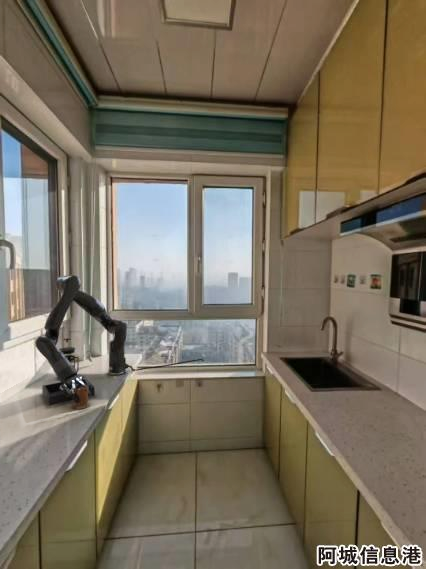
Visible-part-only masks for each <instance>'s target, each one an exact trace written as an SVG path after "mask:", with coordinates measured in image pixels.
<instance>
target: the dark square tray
mask: <svg viewBox="0 0 426 569" xmlns="http://www.w3.org/2000/svg"><path fill="white" fill-rule="evenodd" d="M87 381H88V382H89V384H90V386H89V391H90V393H91V396H90V397H92V396H95V386H94V385H93V384H92V383H91V382H90V381H89V380H88V379H87ZM62 384H63V383H61V381H58V382H54V383H47V384H43V385H42V388H41V389H42V392H41V393H42V395H43V396H42V397H43V398H44V400H45V401H46V403H47V405H48V406H53V405H58V404H61V403H66V402H71V401H74V400H73V399H72V397H68V398H67V397H66V396H65V395H64V394H63V393H62V392H61V391H60V389H59V387H60V386H61V385H62ZM80 385H81V384H80ZM66 393H67V392H66ZM67 394H68V393H67Z"/></svg>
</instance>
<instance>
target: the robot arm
mask: <svg viewBox="0 0 426 569" xmlns="http://www.w3.org/2000/svg"><path fill="white" fill-rule="evenodd" d="M56 278H57V279H56V280H55V288H56V289H57V291H58V292H60V293H61V297H60V298H59V300H58V301H57V303H56V304H55V305H54V307H52V309H51V311H50V312H49V314H48V315H47V319H46V321H45V323H44V325H43V326H44V330H45V334H42V335H39V336H37V338H36V340H35V341H34V344H35V348H36V349H37V350H38V352H39V353H40V354H41V355H42V356H43V358H45V360H47V362H48V364H49V366H50V367H51V368H52V370H53V373H54V374H55V375H56V378H57V379H58V378H59V379H58V380H59V382H61V383H63V384H62V385H61V386H60V387H59V389H60V391H61V392H62V393H63V394H64V395H65V396H66V397H67V398H68V397H72V399H73V400H72V401H73V403H74V402H75V403H79V402H80V398H79V397H78V395H77V394H75V387H77V386H80V384H81V385H87V386H90V384H89V382H90V381H89V380H88V378H87V377H86V375H82V376H79V375H78V372H77V369H76V368H75V369H74V367H73V366H72V365H73V364H72V363H70V361H69V360H68V359H67V358H66V357H65V355H66V354H63V353H62V351H61V350H59V349H60V348H58V347H57V345H58V343H59V342H58V341H59V337H60V330H61V328H62V326H63V322H64V319H65V317H66V315H67V312H68V310H69V309H70V306H71V305H72V303H73V302H74V303H75V304H76V305H77V306H78V307H80V308H81V310H83V311H84V312H85V313H87V314H88V315H89V316H90V317H91V318H93V319H94V320H95V321H97V322H98V323H99V324H100V325H101V326H102V327H103V328H104V329H105V330H106V331H107V333H109V335H110V334H111V335H113V339H112V340H110V341H109V343H108V375H110V376H119V375H123V374H126V370H127V369H129V368H130V369H131V371H134V372H137V371H143V370H149V369H157V368H165V367H171V366H176V365H181V364H182V365H183V364H186V363H192V362H198V361H202V362H205V360H204V359H203V358H197V359H191V360H186V361H180V362H175V363H174V362H173V363H170V364H169V363H168V364H162V365H155V366H147V367H141V368H138V369H137V368H136V369H135V368H133V366H132V365H130V364H128V363H127V361H126V357H125V351H126V350H125V348H126V341H127V333H128V331H127V330H128V326H127V323H126V321H125V320H122V319H115V318H113V317H112V316H111V315H109V313H108V312H107V308H106V307H105V305H104V304H103V303H102V302H101V301H100V300H98V298H96V297H95V296H94V295H91V294H89V293H87V292H85V291H83V290H81V285H82V281H81V279H80V277H78V276H77V275H73V274H71V275H68V274H67V275H61V276H59V277H56ZM87 380H88V381H89V382H88V381H87ZM66 392H67V393H68V394H67V393H66ZM90 397H92V396H91V393H90V391H89V392H88V399H89V398H90Z"/></svg>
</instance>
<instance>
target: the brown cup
mask: <svg viewBox="0 0 426 569" xmlns="http://www.w3.org/2000/svg"><path fill="white" fill-rule="evenodd" d="M88 392H89V386H87V385H80V386H77V387H75V394H77V395H78V397H79V398H80V402H79V403H75V402H74V401H73V407H74V408H76V409H77V408H78V409H77V411H80V410H84V409H87V408H88V405H89V398H88Z"/></svg>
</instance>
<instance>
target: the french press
mask: <svg viewBox="0 0 426 569" xmlns="http://www.w3.org/2000/svg"><path fill="white" fill-rule="evenodd" d="M62 340H63V341H65V342H66V343H69V341H71V340H72V338H70V337H67V338H63V339H62ZM58 349H59V350H61V351H62V353H63V354H64V355H65V357H66V358H67V359H68V360H69V361H70V363H71V362H72V361H73V364H72V363H71V364H72V366H73V367H74V369H75V370H76V371H77V373H78V372H79V371H80V370H79V368H80V366H79V365H80V357H79V356H76V355H74V353H75V350H76V347H73V346H71V347H69V346H65V347H61V348H58ZM76 359H77V361H76ZM76 362H77V364H76ZM76 365H77V366H76ZM76 368H77V369H76ZM57 380H59V378H58V377H57Z"/></svg>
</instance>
